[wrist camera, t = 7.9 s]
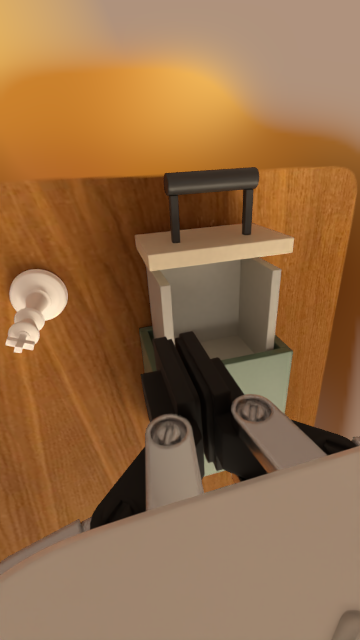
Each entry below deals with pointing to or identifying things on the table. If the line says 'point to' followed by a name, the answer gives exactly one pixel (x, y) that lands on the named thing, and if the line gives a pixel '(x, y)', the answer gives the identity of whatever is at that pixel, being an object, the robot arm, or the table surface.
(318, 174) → the table surface
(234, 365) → the cabinet
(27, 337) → the chess piece
